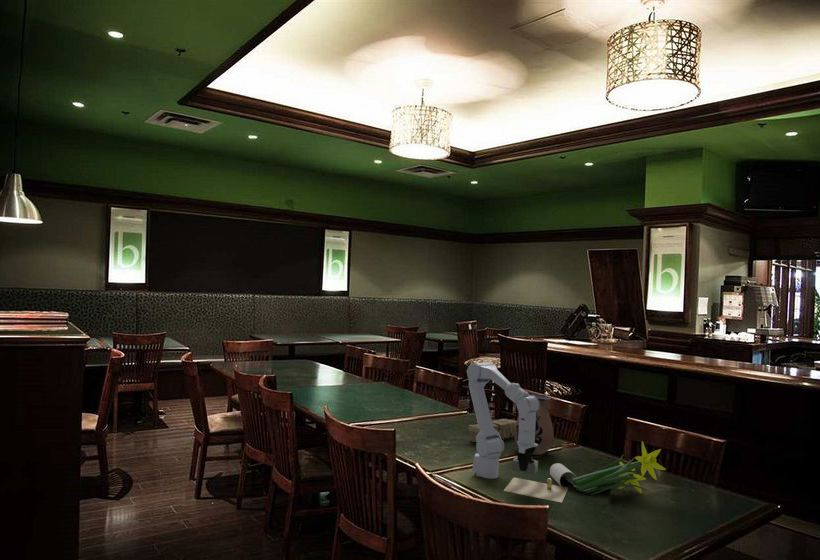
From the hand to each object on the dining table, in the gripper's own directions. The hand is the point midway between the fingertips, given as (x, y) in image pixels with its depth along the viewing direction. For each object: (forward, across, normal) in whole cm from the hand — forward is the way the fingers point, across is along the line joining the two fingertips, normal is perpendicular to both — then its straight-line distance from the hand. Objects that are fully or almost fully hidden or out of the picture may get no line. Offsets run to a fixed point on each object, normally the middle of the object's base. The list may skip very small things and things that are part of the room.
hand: (524, 468), depth 197 cm
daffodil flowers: (+9, +18, -30) cm, 36 cm away
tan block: (+10, +66, +29) cm, 72 cm away
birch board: (+9, +3, -4) cm, 10 cm away
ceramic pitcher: (+9, +56, +7) cm, 57 cm away
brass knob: (+8, +6, -8) cm, 12 cm away
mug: (+7, +24, -9) cm, 26 cm away
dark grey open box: (+1, 0, 0) cm, 1 cm away
